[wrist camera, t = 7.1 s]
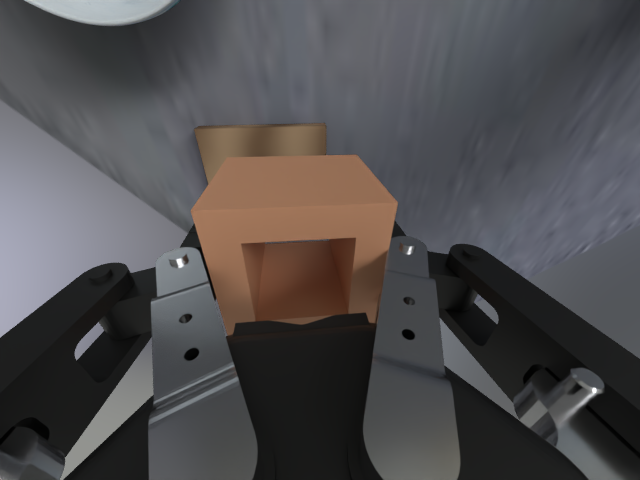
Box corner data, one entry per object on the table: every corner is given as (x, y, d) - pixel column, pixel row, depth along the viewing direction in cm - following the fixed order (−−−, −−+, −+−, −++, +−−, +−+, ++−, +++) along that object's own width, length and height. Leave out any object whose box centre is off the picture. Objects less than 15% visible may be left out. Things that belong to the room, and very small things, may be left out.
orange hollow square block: (356, 154, 11) (397, 202, 7) (347, 255, 14) (373, 330, 10) (226, 157, 11) (190, 210, 7) (246, 261, 14) (229, 342, 10)
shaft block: (324, 123, 25) (334, 140, 19) (324, 198, 30) (332, 232, 23) (199, 126, 24) (166, 145, 18) (218, 202, 29) (197, 239, 23)
